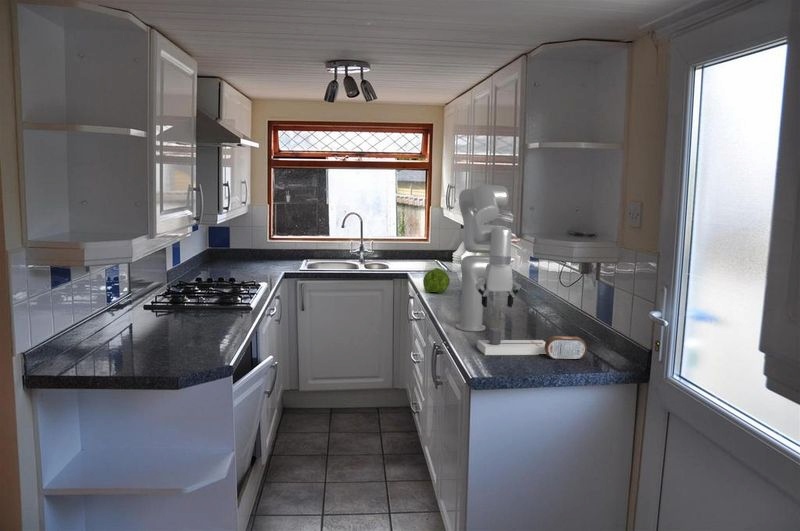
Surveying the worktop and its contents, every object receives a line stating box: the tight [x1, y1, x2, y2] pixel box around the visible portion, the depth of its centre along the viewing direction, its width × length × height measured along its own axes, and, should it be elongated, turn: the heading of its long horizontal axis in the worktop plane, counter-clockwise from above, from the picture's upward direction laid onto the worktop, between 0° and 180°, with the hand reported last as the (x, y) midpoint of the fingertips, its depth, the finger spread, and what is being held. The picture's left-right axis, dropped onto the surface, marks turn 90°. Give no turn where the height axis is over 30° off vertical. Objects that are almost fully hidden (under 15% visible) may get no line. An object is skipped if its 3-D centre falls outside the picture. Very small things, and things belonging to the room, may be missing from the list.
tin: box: [545, 335, 588, 360], centre depth 236 cm, size 15×3×8 cm, turn 92°
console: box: [476, 339, 547, 356], centre depth 244 cm, size 10×26×3 cm, turn 100°
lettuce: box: [422, 267, 451, 293], centre depth 371 cm, size 14×24×15 cm
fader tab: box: [488, 327, 502, 344], centre depth 242 cm, size 5×3×5 cm, turn 10°
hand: (497, 306), depth 240 cm, fingers open, 9 cm apart
